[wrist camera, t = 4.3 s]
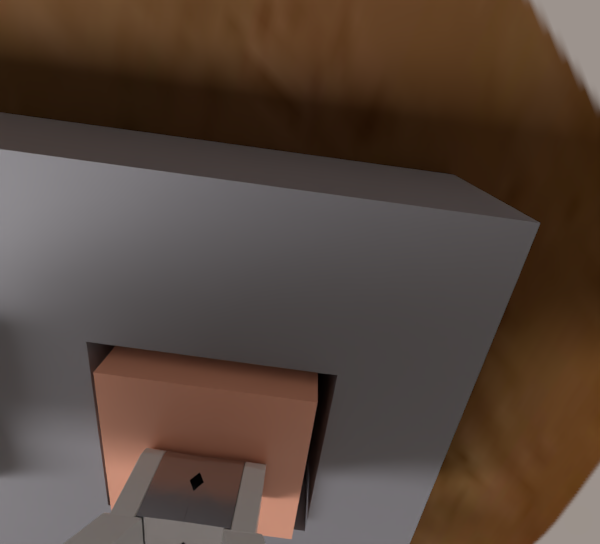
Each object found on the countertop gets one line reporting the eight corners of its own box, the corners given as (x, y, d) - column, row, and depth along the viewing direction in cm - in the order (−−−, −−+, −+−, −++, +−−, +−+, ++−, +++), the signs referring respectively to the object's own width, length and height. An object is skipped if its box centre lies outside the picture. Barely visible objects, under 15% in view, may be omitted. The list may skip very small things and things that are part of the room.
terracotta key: (170, 400, 14) (111, 515, 10) (167, 284, 12) (92, 372, 8) (299, 417, 14) (291, 539, 10) (318, 304, 12) (317, 402, 8)
